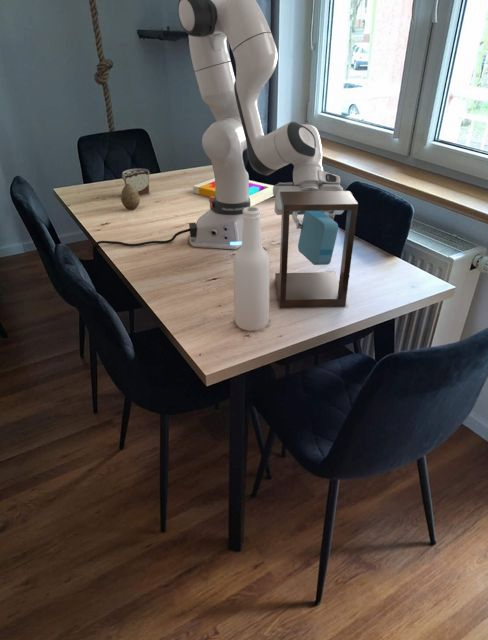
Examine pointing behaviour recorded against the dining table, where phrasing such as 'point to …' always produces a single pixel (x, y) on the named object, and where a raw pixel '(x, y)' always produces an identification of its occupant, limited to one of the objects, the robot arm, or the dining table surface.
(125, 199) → the decorative egg
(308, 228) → the data package
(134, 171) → the food container
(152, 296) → the dining table surface
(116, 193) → the dining table surface
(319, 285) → the shelf
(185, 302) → the dining table surface
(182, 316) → the dining table surface
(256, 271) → the alcohol
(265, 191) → the puzzle game
